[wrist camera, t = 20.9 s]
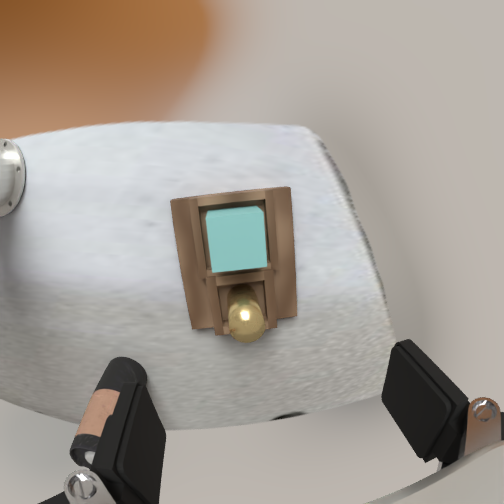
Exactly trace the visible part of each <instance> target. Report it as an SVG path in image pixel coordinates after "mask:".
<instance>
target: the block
mask: <svg viewBox="0 0 504 504" xmlns="http://www.w3.org/2000/svg"><path fill="white" fill-rule="evenodd" d="M206 225H207V234H208V243H209V251H210V259H211V267H212V273H215V272H224V271H234V270H243V269H252V268H261V267H267V255H266V241H265V227H264V213H263V211H262V210H261V209H260V208H259V207H258V206H256V205H255V206H245V207H234V208H224V209H215V210H208V212H207V215H206Z"/></svg>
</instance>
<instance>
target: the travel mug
mask: <svg viewBox="0 0 504 504" xmlns="http://www.w3.org/2000/svg"><path fill="white" fill-rule="evenodd" d="M146 381H147V375H146V372H145V370H144V368H143V367H142V366H141V365H140V364H139V363H138V362H136V361H134V360H132V359H130V358H127V357H117V358H114V359H113V360H111V362H110V363H109V365H108V366H107V368H106V370H105V372H104V374H103V375H102V377H101V379H100V381H99V383H98V385H97V387H96V389H95V391H94V393H93V395H92V397H91V399H90V401H89V404H88V406H87V408H86V411H85V413H84V415H83V418H82V420H81V423H80V425H79V428H78V430H77V433H76V435H75V438H74V441H73V443H72V446H71V448H70V456H71V458H72V459H73V460H74V462H75V463H76V464H77V465H79V466H85V467H87V468H89V469H90V468H91V464H92V461H93V458H94V455H95V452H96V449H97V445H98V442H99V439H100V436H101V433H102V431H103V428H104V425H105V422H106V419H107V417H108V416H109V415H112V414H113V411H114V408H115V405H116V402H117V400H118V397H119V394H120V391H121V389H122V386H123V384H124V382H140V383H141V385H142V386H146Z"/></svg>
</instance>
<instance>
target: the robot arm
mask: <svg viewBox="0 0 504 504" xmlns="http://www.w3.org/2000/svg"><path fill="white" fill-rule="evenodd" d="M24 183H25V164H24V159H23V156H22V153H21V151H20V149H19V147H18V146H17V145H16V144H15V143H14V142H13V141H11V140H8V139H0V217H1V216H4V215H7V214H9V213H10V212H11V211H12V210H13V209H14V208H15V207H16V205H17V204H18V202H19V200H20V198H21V195H22V192H23V188H24ZM382 402H383V403H384V405H385V407H386V408H387V410H388V411H389V413H390V414H391V416H392V417H393V419H394V420H395V422H396V424H397V425H398V426H399V428H400V429H401V431H402V433H403V434H404V436H405V437H406V439H407V440H408V442H409V444H410V445H411V447H412V448H413V450H414V451H415V453H416V455H417V456H418V457H419V458H423V460H424V461H425V463H426V462H428V461H430V460H432V459H434V458H436V457H437V458H438V460H439V464H438V469H437V472H436V473H434V474H432V475H430V476H428V477H426V478H424V479H422V480H420V481H418V482H416V483H414V484H412V485H410V486H407V487H405V488H403V489H401V490H398V491H396V492H394V493H391V494H389V495H386V496H384V497H381V498H379V499H376V500H373V501H371V502H368V503H365V504H504V412H500V408H499V406H498V404H497V403H496V402H495V401H494V400H492V399H490V398H485V397H482V398H481V397H480V398H477V399H475V400H473V401H472V402H471V403H469V401H468V398H467V397H466V395H465V394H464V393H463V392H462V391H461V390H460V389H459V388H458V387H457V386H456V385H455V384H454V383H453V382H452V381H451V380H450V379H449V378H448V377H447V376H446V375H445V373H443V371H442V370H440V369H439V367H438V366H437V365H436V364H434V362H433V361H432V360H431V359H430V358H429V357H428V356H427V355H426V354H425V353H424V352H423V351H422V350H421V349H420V348H419V347H418V346H417V345H416V344H415V343H413V341H412V340H410V339H407V340H404V341H401V342H397V343H396V344H395V346H394V347H393V348H392V350H391V354H390V360H389V365H388V369H387V374H386V378H385V383H384V387H383V391H382ZM165 442H166V433H165V429H164V427H163V425H162V423H161V421H160V419H159V416H158V414H157V412H156V410H155V407H154V405H153V403H152V400H151V398H150V395H149V393H148V391H147V388H146V386H142V385H141V383H140V382H124V384H123V386H122V389H121V391H120V394H119V397H118V400H117V402H116V405H115V408H114V411H113V414H112V415H109V416H108V417H107V419H106V422H105V425H104V428H103V431H102V433H101V436H100V439H99V442H98V445H97V449H96V452H95V455H94V458H93V461H92V464H91V468H90V471H88V470H78V471H74V472H73V473H71V474H70V475H69V476H68V477H67V478H66V480H65V482H64V492H62V493H60V494H58V495H56V496H54V497H52V498H50V499H48V500H45V501H43V502H41V503H39V504H159V496H160V486H161V476H162V467H163V459H164V451H165Z"/></svg>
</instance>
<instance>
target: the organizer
mask: <svg viewBox="0 0 504 504" xmlns="http://www.w3.org/2000/svg"><path fill="white" fill-rule="evenodd" d="M170 203H171V211H172V218H173V225H174V231H175V238H176V244H177V251H178V257H179V262H180V268H181V274H182V279H183V285H184V290H185V295H186V301H187V306H188V311H189V316H190V320H191V325H192V329H201V328H210V327H214V330H215V335H225V334H230V331H229V319H228V306H227V294H228V292H229V290H230V289H231V288H232V287H234V286H236V285H239V284H245V285H249V286H250V287H252V288H253V289H254V290H255V292H256V295H257V299H258V302H259V305H260V308H261V312H262V315H263V318H264V322H265V329H271V328H277V319H281V318H287V317H294V316H297V296H296V272H295V251H294V233H293V217H292V203H291V189H290V187H276V188H265V189H254V190H244V191H235V192H226V193H217V194H209V195H201V196H193V197H185V198H178V199H172V200H171V201H170ZM255 205H256V206H258V207H259V208H260V209H261V210H262V211H263V213H264V227H265V241H266V255H267V267H261V268H252V269H243V270H234V271H224V272H215V273H212V267H211V259H210V251H209V243H208V234H207V225H206V215H207V212H208V210H215V209H224V208H234V207H245V206H255Z"/></svg>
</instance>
